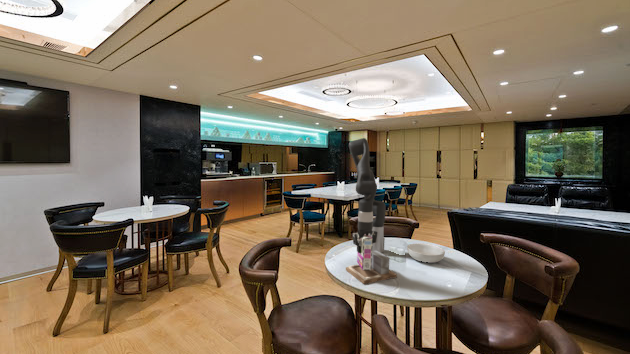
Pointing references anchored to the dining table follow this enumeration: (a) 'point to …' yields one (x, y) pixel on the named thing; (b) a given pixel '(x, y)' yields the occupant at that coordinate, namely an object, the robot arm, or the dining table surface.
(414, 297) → the dining table surface
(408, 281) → the dining table surface
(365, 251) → the candy bar box
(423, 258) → the serving bowl
